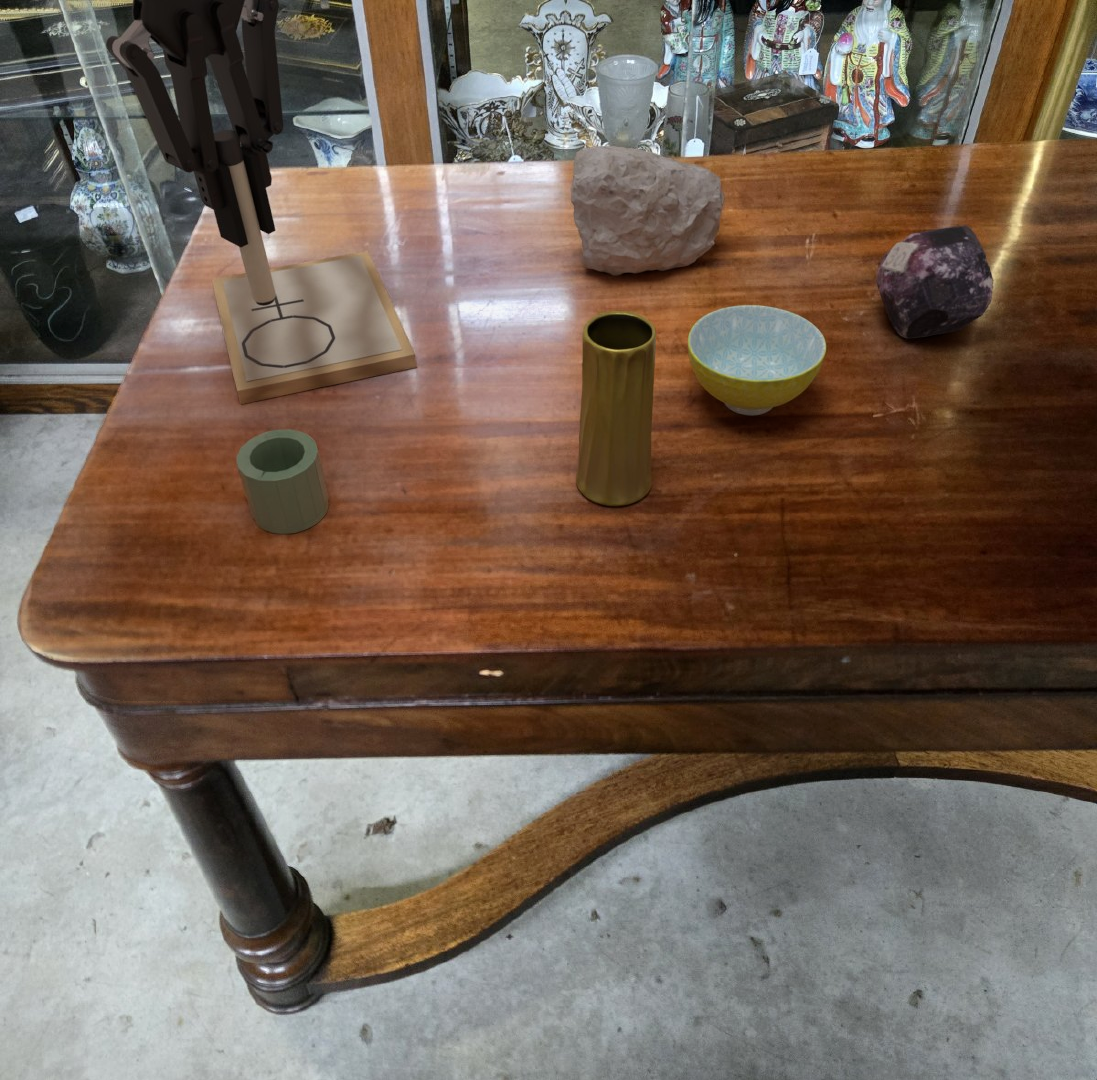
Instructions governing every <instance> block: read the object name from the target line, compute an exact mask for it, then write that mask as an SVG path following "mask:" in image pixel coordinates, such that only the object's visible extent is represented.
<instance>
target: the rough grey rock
mask: <svg viewBox="0 0 1097 1080" xmlns="http://www.w3.org/2000/svg"><path fill="white" fill-rule="evenodd" d="M721 183H722V180H721V177H720V176H719V175H717V174H716V173H714V172H713V171H711V170H710V169H709V168H708V167H703V166H701V165H698V164H695V163H690V162H685V161H679V160H677V159H675V158H670V157H666V156H665V155H661V154H659V153H656V152H652V151H648V150H644V149H640V148H635V147H629V148H627V147H625V146H616V145H605V146H604V145H593V146H590V147H589V146H587V147H586V146H585V147H582V148H581V149H580V150H578V151H577V152H575V154H574V161H573V165H572V182H571V186H570V203H571V204H572V206H573V221H574V224H575V227H576V228H577V231H578V235H579V237H580V240H581V245H582V251H583V252H582V259H581V264H582V265H583V266H584V267H585V268H586V269H590V270H594V271H597V272H599V273H600V272H603V273H607V274H609V275H611V276H621V275H622V274H626V273H630V274H638V273H644V272H646V271H655V270H657V271H660V272H664V271H669V270H671V269H675V268H676V269H677V268H683V267H687V266H689V265H691V264H693V263H695V262H696V261H697V259H699V258H700V257H702V256H703V255H704V254H705V253H707V252H708V251H710V249H712V247H713V246H714V245H715V239H716V237H717V234H718V232H719V231H720V224H721V223H720V220H721V216H722V212H723V206H724V204H725V193H724V191H723V189H722V185H721Z"/></svg>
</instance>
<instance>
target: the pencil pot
mask: <svg viewBox="0 0 1097 1080" xmlns="http://www.w3.org/2000/svg"><path fill="white" fill-rule="evenodd" d="M235 463H236V466H237V470H238V474H239V477H240V481H241V484H242V487H243V490H244V491H243V492H244V494H245V497H246V500H247V503H248V508H249V511H250V513H251V516H252V520H253V521H254V523H255V524H256V525H257V526H258V527H259V528H260V529H262V530H264V531H266V532H268V533H271V534H277V535H290V534H295V533H300V532H303V531H306V530H308V529H310V528H312V527H314V526H315V525H317V524H318V523H320V522H321V520H322V519H323V518H324V517H325V516H326V514H327V513H328V512H329V511H328V510H329V507H330V497H329V493H328V488H327V484H326V483H327V482H326V479H325V475H324V469H323V466H322V460H321V457H320V451H319V448H318V445H317V442H316V440H314V439H313V438H312V437H311V436H310V434H308V433H306V432H304V431H303V432H302V431H299V430H296V429H274V430H269V431H264V432H262V433H259V434H258V435H255V436H254V437H252V438H250V439H249V440H247V441H246V442H245V443H244V444H243V445H242V446H241V447H240V448H239V451H238V452H237V455H236V458H235Z"/></svg>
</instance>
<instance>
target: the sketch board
mask: <svg viewBox="0 0 1097 1080" xmlns="http://www.w3.org/2000/svg"><path fill="white" fill-rule="evenodd" d="M270 272H271V276H272V280H273V284H274V289H275V293H276V296H275V298H274V299H275V300H274V302H273V303H271V304H269V305H265V306H261V305H258V304H257V303H256V302H255V301H254V300H253V298H252V295H251V291H250V287H249V283H248V279H247V275H246V272H244V273H238V274H233V275H228V276H222V277H216V278H211V282H212V288H213V292H214V297H215V301H216V304H217V305H216V306H217V309H218V313H219V314H218V315H219V319H220V323H221V328H222V331H223V334H224V341H225V345H226V350H227V352H228V357H229V362H230V367H231V371H232V377H233V380H234V384H235V389H236V394H237V397H238V400H239V404H240V405H244V404H251V403H254V402H258V401H259V402H260V401H263V400H269V399H272V398H277V397H282V396H288V395H293V394H297V393H301V392H306V391H311V390H316V389H320V388H321V389H322V388H324V387H330V386H335V385H339V384H344V383H348V382H354V381H358V380H362V379H367V378H372V377H378V376H382V375H387V374H391V373H396V372H402V371H406V370H411V369H415V368H417V367H418V366H417V365H418V364H417V357H416V353H415V350H414V348H413V346H412V344H411V342H410V339H409V337H408V335H407V333H406V331H405V329H404V326H403V324H402V322H401V320H400V317H399V315H398V313H397V311H396V309H395V306H394V305H393V301H392V300H391V298H390V295H389V294H388V291H387V289H386V286H385V284H384V282H383V279H382V278H381V275H380V273H379V271H378V269H377V267H376V265H375V262H374V260H373V257H372V255H371V253H370V251H369V250H364V251H358V252H354V253H347V254H341V255H336V256H332V257H331V256H330V257H326V258H320V259H315V260H310V261H304V262H298V263H293V264H288V265H282V266H276V267H272V268H271V267H270Z"/></svg>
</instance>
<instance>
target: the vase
mask: <svg viewBox="0 0 1097 1080" xmlns="http://www.w3.org/2000/svg"><path fill="white" fill-rule="evenodd" d="M581 337H582V343H581V344H582V346H581V347H582V356H581V357H582V358H581V359H582V360H581V361H582V362H581V363H582V364H581V399H580V410H579V411H580V413H579V431H578V433H579V434H578V460H577V461H578V462H577V463H578V466H577V471H576V476H575V484H576V486H577V488H578V490H579V491H580V493H581V494H582V495H583V496H584V497H585V498H587V499H588V500H589V501H591V502H593V503H595V504H598V505H602V506H606V507H607V506H608V507H623V506H624V507H625V506H629V505H632V504H634V503H637V502H639V501H641V499H643V498H645V496H647V495H648V493H649V492H650V490H651V489H652V485H653V476H652V425H653V407H654V406H653V404H654V386H655V385H654V383H655V367H656V366H655V365H656V340H657V329H656V327H655V325H654V323H653V322H652V321H651V320H649V319H648V318H646V317H645V316H643V315H641V314H639V313H636V312H633V311H626V310H609V311H604V312H602V313H598V314H596V315H594V316H592V317H591V318H590V319H588V320H587V321H586V323H585V324H584V326H583V329H582V336H581Z"/></svg>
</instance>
